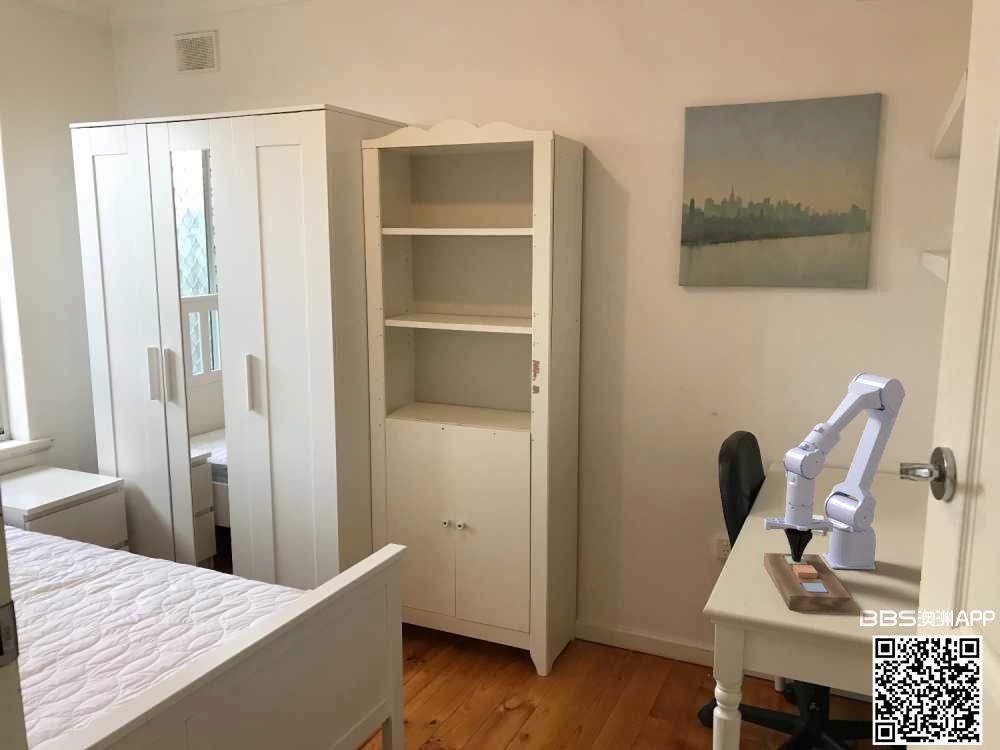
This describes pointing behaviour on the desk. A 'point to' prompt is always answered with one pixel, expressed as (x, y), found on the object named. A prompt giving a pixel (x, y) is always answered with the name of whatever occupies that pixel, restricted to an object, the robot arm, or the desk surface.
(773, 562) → the button panel
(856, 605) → the desk surface
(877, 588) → the desk surface
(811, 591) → the slate button
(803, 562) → the sage button
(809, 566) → the terracotta button
